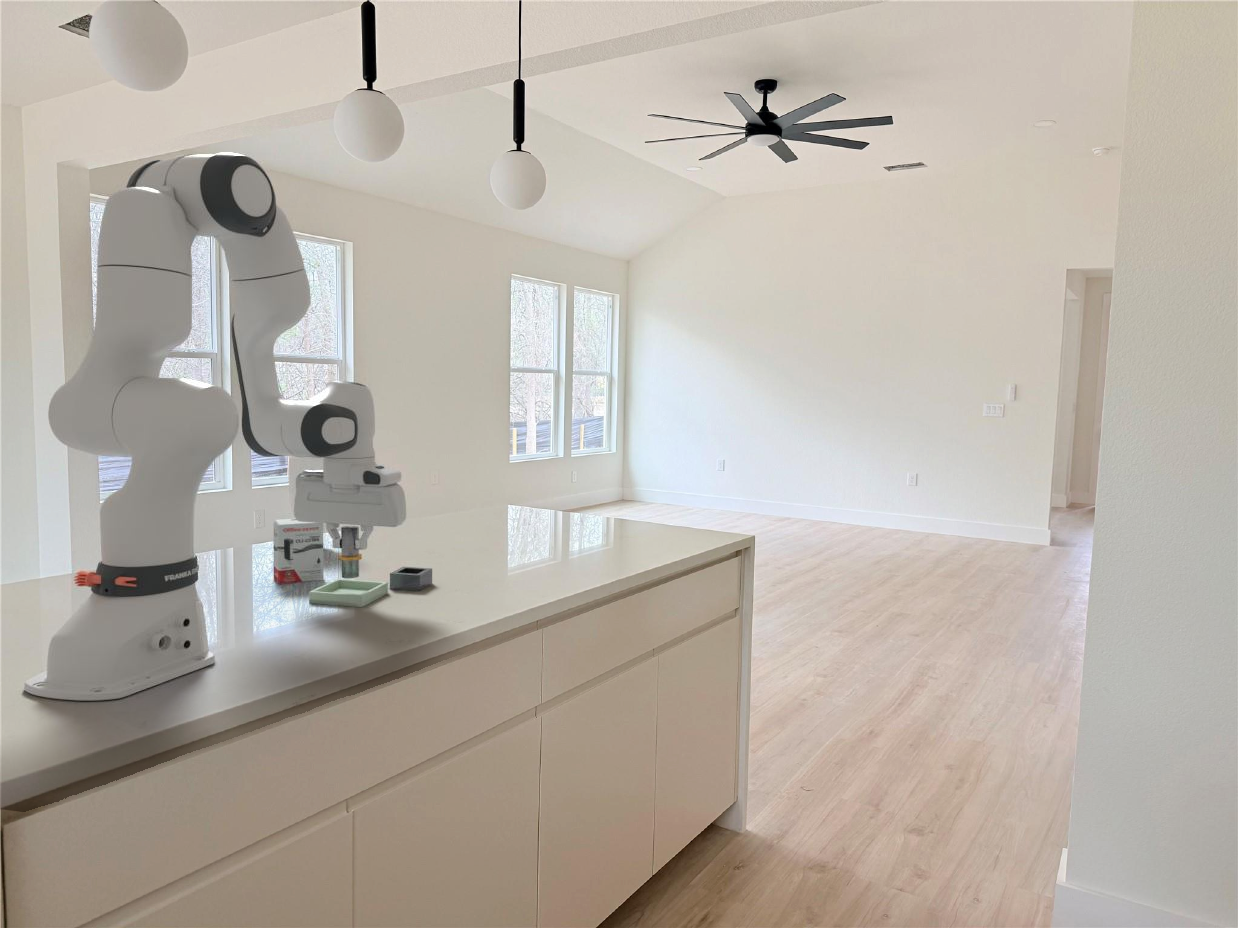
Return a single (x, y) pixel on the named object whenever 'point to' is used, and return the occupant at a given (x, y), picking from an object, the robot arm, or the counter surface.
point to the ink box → (298, 551)
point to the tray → (348, 592)
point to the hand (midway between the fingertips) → (350, 548)
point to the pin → (349, 552)
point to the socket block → (411, 578)
